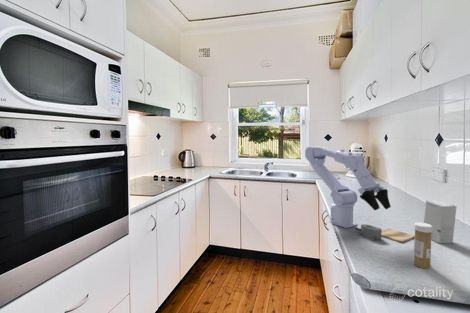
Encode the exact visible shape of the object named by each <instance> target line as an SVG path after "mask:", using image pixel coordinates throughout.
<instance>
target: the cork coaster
mask: <svg viewBox="0 0 470 313" xmlns="http://www.w3.org/2000/svg"><path fill="white" fill-rule="evenodd" d="M381 238H386V239H388V240H391V241H395V242H398V243H401V244H403V243H405V242H407V241H410V240H412V239H414V238H415V234H414V235H413V234H410V233H406V232H403V231H399V230H397V229H393V228H387V229H384V230H382V235H381Z"/></svg>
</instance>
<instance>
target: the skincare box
mask: <svg viewBox="0 0 470 313" xmlns="http://www.w3.org/2000/svg"><path fill="white" fill-rule="evenodd" d="M456 215H457V206H456V205H454V204H451V203H448V202H445V201H441V200H435V199H433V200H426V201H425V209H424V217H423V218H424V219H423V223H427V224H430V225H432V233H431V241H433V242H436V243H437V244H453V243H454V234H455V233H454V232H455V224H456V223H455V222H456Z"/></svg>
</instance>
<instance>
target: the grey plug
mask: <svg viewBox="0 0 470 313" xmlns="http://www.w3.org/2000/svg"><path fill="white" fill-rule="evenodd" d="M355 231H358V232H360V236H362V237H364V238H365V239H366V238H367V239H369V240H372V241H378V242H379V241H382V236H381V235H382V231H383V230H382V228H380V227H377V226H374V225H370V224H364V223H363V224H360V228H359V227H356V228H355Z"/></svg>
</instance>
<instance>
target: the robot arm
mask: <svg viewBox="0 0 470 313" xmlns="http://www.w3.org/2000/svg"><path fill="white" fill-rule="evenodd" d="M304 155H305V158H306V160H307V161H308V163H309V164H310V166H311V168H312V170H313V171H314V172H315V173H316V174H317V176H318V178H320V179H321V180H322V182H323V183H324V184H325V185H326V186H327V187H328V189H329V190H330V191H331V192H330V197H331V199H332V202H333V204H332V205H331V207H330V221H329V223H330V224H332V225H336V226H338V227H342V228H345V229H348V228H352V227H355V226H358V224H357V223H356V222H354V206H355V204H356V203H357V202H358V195H357V192H356V191H354V190H352V189H351V188H349V186H345V185H343V184H342V183H341V182H340V181H339V180H338V179H337V178H336V177H335V175H333V173H331V171H330V170H329V169H328V168H327V166H326V165H324V164H325V163H326V158H327V157H328V158H329V157H330V158H333V159H334V161H335V163H339V164H341V165H344V166H345V167H346V168H347V169H349V170H350V172H352V174H353V175H354V176H355V177H354V178H356V180H357V183H358V184H359V186H360V187H359V188H358V189H357V191H358V193H359V197H360V199H361V200H363V201H365V203H367V204H368V206H370V208H372V210H374V211H377V210H379V209H381V208H380V205H381V206H382V207H383V208H384V209H385V210H389V209H390V208H392V205H391V203H390V200H389V194H388V192H389V191H388V189H387V188H384V187H383V186H381V183H377V181H376V180H375V179H374V177H373V176H372V174H371V173H370V171H369V169H368V167H367V166H366V163H365V157H364V156H363V155H362V154H361V153H356V154H354V153H353V151H352V152H351V151H349V152H348V151H345V149H342V148H340V149H338V150H334V149H332V148H330V147H327V146H323V145H320V146H307V147H306V148H305V151H304ZM375 193H376V194H375ZM378 201H379V203H380V205H379V203H378Z"/></svg>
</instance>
